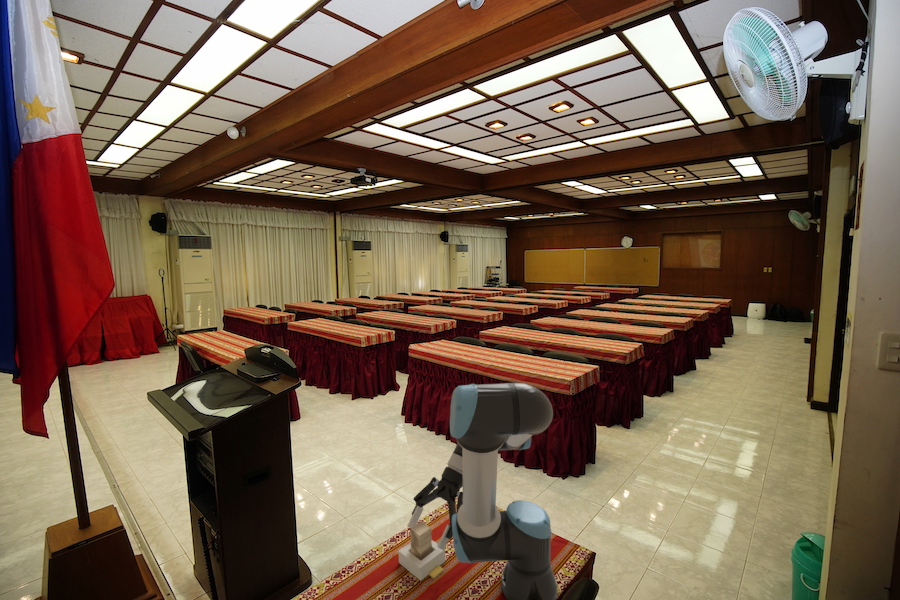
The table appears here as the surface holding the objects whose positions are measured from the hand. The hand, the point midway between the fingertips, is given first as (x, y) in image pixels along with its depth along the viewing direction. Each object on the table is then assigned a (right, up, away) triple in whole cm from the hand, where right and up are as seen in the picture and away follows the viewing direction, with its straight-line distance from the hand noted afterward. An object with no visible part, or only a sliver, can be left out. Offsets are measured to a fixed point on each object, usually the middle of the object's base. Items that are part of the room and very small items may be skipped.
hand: (424, 537), depth 122 cm
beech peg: (-1, -7, -1) cm, 7 cm away
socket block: (0, -7, -1) cm, 7 cm away
